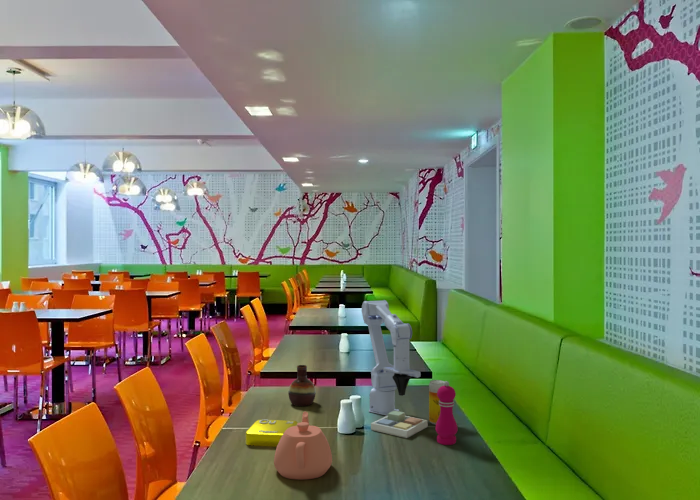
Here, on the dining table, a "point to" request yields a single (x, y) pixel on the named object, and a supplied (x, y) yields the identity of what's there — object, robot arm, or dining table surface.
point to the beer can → (434, 400)
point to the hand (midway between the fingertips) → (401, 394)
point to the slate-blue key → (386, 422)
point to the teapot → (303, 452)
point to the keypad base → (398, 431)
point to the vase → (302, 388)
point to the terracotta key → (413, 421)
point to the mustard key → (403, 426)
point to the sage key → (396, 416)
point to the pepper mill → (446, 416)
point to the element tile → (267, 432)
